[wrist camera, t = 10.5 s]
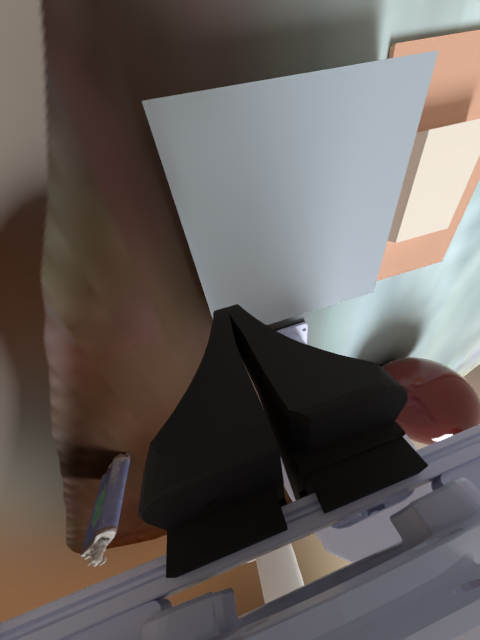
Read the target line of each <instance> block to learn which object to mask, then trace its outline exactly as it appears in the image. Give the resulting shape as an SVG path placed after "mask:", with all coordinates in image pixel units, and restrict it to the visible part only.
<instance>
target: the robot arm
mask: <svg viewBox="0 0 480 640" xmlns="http://www.w3.org/2000/svg"><path fill="white" fill-rule="evenodd" d="M307 330H308V325H307V323H306V322H302V323H299V324H296V325H293V326H289V327H286V328H283V329H280V330H277V331H275V330H274V329H272V328H270V327H268V326H267V325H265V324H264V323H262V322H261V321H259V320H258V319H256V318H255V317H253V316H252V315H251V314H249V313H248V312H247V311H246V310H244V309H243V308H242V307H241V306H240V305H238V304H236V305H232V306H229V307H226V308H222V309H219V310H215V311H214V312H213V323H212V329H211V333H210V338H209V341H208V344H207V347H206V351H205V353H204V356H203V359H202V361H201V363H200V366H199V368H198V370H197V372H196V374H195V376H194V378H193V380H192V382H191V384H190V386H189V387H188V389H187V391H186V392H185V394H184V396H183V397H182V399H181V400H180V402H179V404H178V405H177V407H176V409H175V410H174V412H173V413H172V415H171V416H170V417H169V419H168V420H167V421H166V423H165V424H164V426H163V427H162V428H161V430H160V431H159V432H158V434H157V435H156V437H155V438H154V439H153V441H152V442H151V443H150V446H149V450H148V455H147V459H146V463H145V468H144V472H143V480H142V488H141V496H140V503H139V517H140V518H141V519H142V520H143V521H145V522H146V523H148V524H151V525H153V526H156V527H159V528H162V529H165V530H167V554H166V555H164V556H161V557H159V558H156V559H154V560H152V561H149V562H147V563H145V564H142V565H140V566H137V567H135V568H132V569H130V570H127V571H125V572H123V573H120V574H118V575H115V576H113V577H111V578H108V579H106V580H104V581H101V582H99V583H96V584H94V585H91V586H89V587H87V588H84V589H82V590H79V591H77V592H75V593H72V594H70V595H67V596H65V597H62V598H60V599H58V600H55V601H53V602H50V603H48V604H46V605H43V606H41V607H38V608H36V609H34V610H31V611H29V612H26V613H24V614H22V615H20V616H17V617H14V618H12V619H10V620H7V621H5V622H2V623H0V640H480V424H479V425H477V426H474V427H472V428H469V429H467V430H465V431H462V432H460V433H457V434H455V435H453V436H450V437H448V438H445V439H443V440H441V441H438V442H436V443H433V444H431V445H429V446H426V447H424V448H421V449H419V450H417V449H416V447H415V446H414V444H413V443H412V441H411V440H410V439H409V437H408V436H407V435H406V433H405V431H404V430H403V429H402V428H401V426H400V425H399V424H398V423H397V422H396V421H395V420H396V419H397V417H398V416H399V414H400V412H401V411H402V409H403V408H404V406H405V404H406V402H407V400H408V393H407V390H406V389H405V388H404V387H403V386H402V385H401V384H400V383H399V382H398V381H397V380H396V379H394V378H393V377H392V376H391V375H390V374H389V373H388V372H387V371H385V370H384V369H383V368H382V367H380V366H379V365H378V364H377V363H374V362H369V361H365V360H360V359H355V358H351V357H346V356H342V355H338V354H335V353H331V352H328V351H324V350H321V349H318V348H315V347H312V346H309V345H307ZM242 360H243V361H242ZM243 362H244V363H243ZM244 364H245V366H246V368H247V370H248V373H249V375H250V377H251V379H252V381H253V383H254V385H255V387H256V390H257V392H258V395H259V397H260V400H261V403H262V405H261V403H260V401H259V398H258V396H257V394H256V392H255V389H254V387H253V385H252V382H251V380H250V378H249V375H248V373H247V370H246V368H245V366H244ZM262 406H263V407H262ZM263 408H264V410H263ZM264 411H265V412H264ZM283 485H284V486H285V488H286V490H287V492H288V494H289V496H290V498H291V499H292V501H293V502H291V503H289V504H287V503H286V500H285V495H284V488H283ZM313 533H315V534H316V536H317V538H318V539H319V540H321V542H322V544H323V546H324V548H325V550H327V551H328V552H330V553H332V554H334V555H336V556H338V557H340V558H342V559H345V560H347V561H349V562H351V563H352V564H349V565H347V566H345V567H343V568H341V569H338V570H336V571H334V572H332V573H330V574H327V575H325V576H323V577H321V578H319V579H317V580H314V581H312V582H310V583H308V584H306V585H304V586H302V587H300V588H297V589H295V590H293V591H291V592H289V593H287V594H285V595H283V596H281V597H279V598H277V599H274V600H272V601H270V602H268V603H266V604H264V605H262V606H260V607H258V608H256V609H254V610H252V611H250V612H247V613H245V614H243V615H242V616H239V617H238V615H237V612H236V605H235V597H234V590H232V588H228V589H225V590H222V591H219V592H215V593H212V592H209V593H206V594H204V595H201V596H199V597H196V598H194V599H192V600H189V601H187V602H184V603H182V604H179V605H177V606H174V607H172V605H171V603H170V601H169V600H167V599H165V598H167V597H170V596H171V595H174V594H176V593H179V592H181V591H183V590H185V589H188V588H190V587H192V586H195V585H197V584H199V583H201V582H204V581H206V580H208V579H210V578H213V577H215V576H217V575H220V574H222V573H224V572H226V571H229V570H231V569H233V568H236V567H238V566H240V565H242V564H245V563H247V562H249V561H252V560H254V559H256V558H258V557H261V556H263V555H265V554H268V553H270V552H272V551H274V550H277V549H279V548H281V547H284V546H286V545H288V544H290V543H293V542H295V541H297V540H300V539H302V538H304V537H306V536H309V535H311V534H313Z"/></svg>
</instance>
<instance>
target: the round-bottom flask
mask: <svg viewBox="0 0 480 640" xmlns="http://www.w3.org/2000/svg"><path fill="white" fill-rule="evenodd" d="M382 368H383V369H384V370H385V371H387V372H388V373H389V374H390V375H391V376H392V377H393V378H394V379H396V380H397V381H398V382H399V383H400V384H401V385H402V386H403V387H404V388H405V389H406V390H407V393H408V400H407V402H406V404H405V406H404V408H403V409H402V411H401V412H400V414H399V416H398V417H397V419H396V420H395V421H396V422H397V423H398V424H399V425H400V426H401V428H402V429H403V430H404V431H405V433H406V435H407V436H408V437H409V439H410V440H413V441H415V442H418V443H422V444H426V445H431V444H433V443H436V442H438V441H441V440H443V439H445V438H448V437H450V436H453V435H455V434H457V433H460V432H462V431H465V430H467V429H469V428H472V427H474V426H477V425H479V424H480V399H479V397H478V395H477V393H476V391H475V390H474V389H473V387H472V386H471V385H470V383H468V381H467V380H466V379H465V378H463V377H462V376H461V375H460V374H458V373H457V372H456V371H454V370H452V369H451V368H449V367H447V366H445V365H443V364H441V363H438V362H435V361H432V360H428V359H423V358H413V357H410V358H400V359H396V360H393V361H390V362H388V363H386V364H384V365H383V366H382Z"/></svg>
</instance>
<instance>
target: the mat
mask: <svg viewBox="0 0 480 640" xmlns="http://www.w3.org/2000/svg"><path fill="white" fill-rule="evenodd" d="M437 50H439V51H438V55H437V59H436V63H435V66H434V70H433V74H432V77H431V81H430V85H429V88H428V92H427V96H426V100H425V103H424V107H423V111H422V114H421V118H420V122H419V125H418V129H417V133H418V132H422V131H426V130H430V129H435V128H440V127H444V126H449V125H453V124H458V123H462V122H467V121H471V120H476V119H480V30H475V31H469V32H462V33H456V34H450V35H444V36H438V37H432V38H425V39H419V40H413V41H407V42H401V43H395V44H394V45H392V46H391V47H390V52H389V57H388V59H390V58H396V57H402V56H407V55H413V54H419V53H425V52H431V51H437ZM479 179H480V156H479V158H478V160H477V162H476V165H475V167H474V169H473V172H472V174H471V176H470V179H469V181H468V183H467V185H466V188H465V190H464V192H463V195H462V197H461V199H460V202H459V204H458V206H457V209H456V211H455V213H454V215H453V218H452V220H451V222H450V225H449V227H448V228H447V229H443V230H440V231H436V232H433V233H429V234H426V235H422V236H419V237H415V238H412V239H408V240H405V241H401V242H398V243H394V242H390V241H387V244H386V248H385V251H384V255H383V259H382V262H381V266H380V270H379V274H378V277H377V281H378V280H381V279H385V278H388V277H391V276H394V275H398V274H401V273H404V272H408V271H411V270H414V269H418V268H421V267H424V266H427V265H431V264H434V263H437V262H441V261H442V260H443V257H444V255H445V253H446V251H447V249H448V247H449V244H450V242H451V240H452V238H453V236H454V234H455V231H456V229H457V227H458V225H459V223H460V221H461V218H462V216H463V214H464V212H465V210H466V207H467V205H468V203H469V201H470V199H471V197H472V194H473V192H474V190H475V188H476V186H477V184H478V181H479Z"/></svg>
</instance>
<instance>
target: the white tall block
mask: <svg viewBox="0 0 480 640" xmlns="http://www.w3.org/2000/svg"><path fill="white" fill-rule="evenodd" d="M254 560H256V561H257V566H258V572H259V576H260V581H261V586H262V591H263V596H264V601H265V604H266V603H268V602H270V601H272V600H274V599H277V598H279V597H281V596H283V595H285V594H287V593H289V592H291V591H293V590H295V589H297V588H300V587H302V586H304V583H303V580H302V576H301V573H300V570H299V567H298V564H297V560H296V557H295V554H294V551H293V548H292V545H291V543H290V544H288V545H286V546H284V547H281V548H279V549H277V550H274V551H272V552H270V553H268V554H265V555H263V556H261V557H258V558H256V559H254ZM254 560H252V561H254ZM252 561H249V562H252ZM249 562H247V563H249Z"/></svg>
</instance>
